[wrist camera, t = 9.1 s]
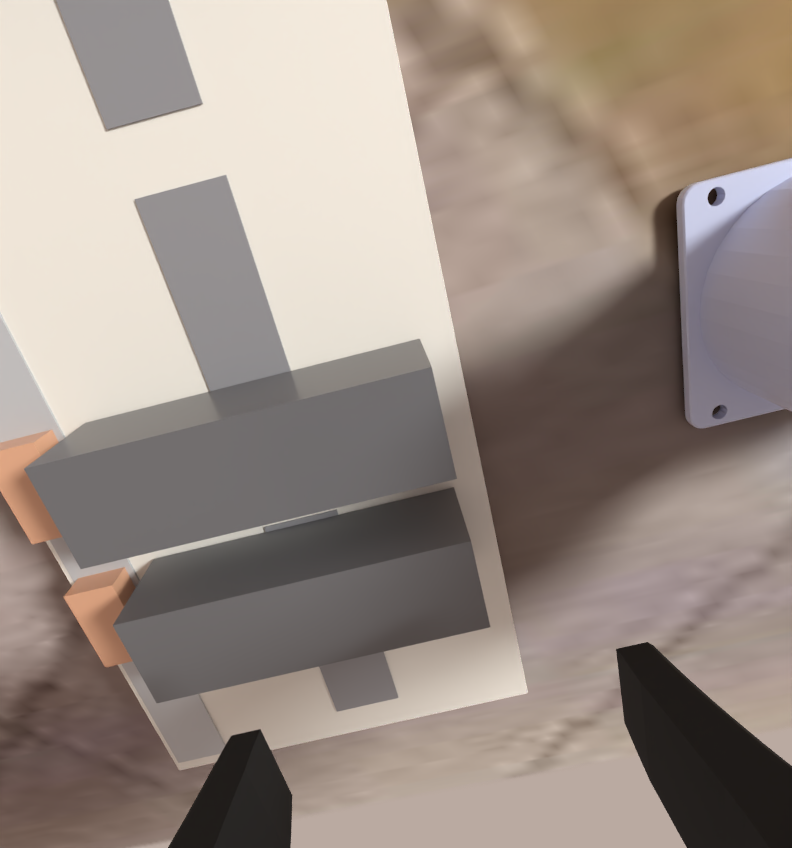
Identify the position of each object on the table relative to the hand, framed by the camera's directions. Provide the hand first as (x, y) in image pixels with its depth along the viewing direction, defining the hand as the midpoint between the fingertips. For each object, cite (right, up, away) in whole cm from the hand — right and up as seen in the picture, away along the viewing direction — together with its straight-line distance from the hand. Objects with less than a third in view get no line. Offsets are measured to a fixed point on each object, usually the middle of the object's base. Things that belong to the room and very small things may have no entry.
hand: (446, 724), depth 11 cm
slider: (-4, +1, +7) cm, 8 cm away
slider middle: (-5, +6, +5) cm, 9 cm away
